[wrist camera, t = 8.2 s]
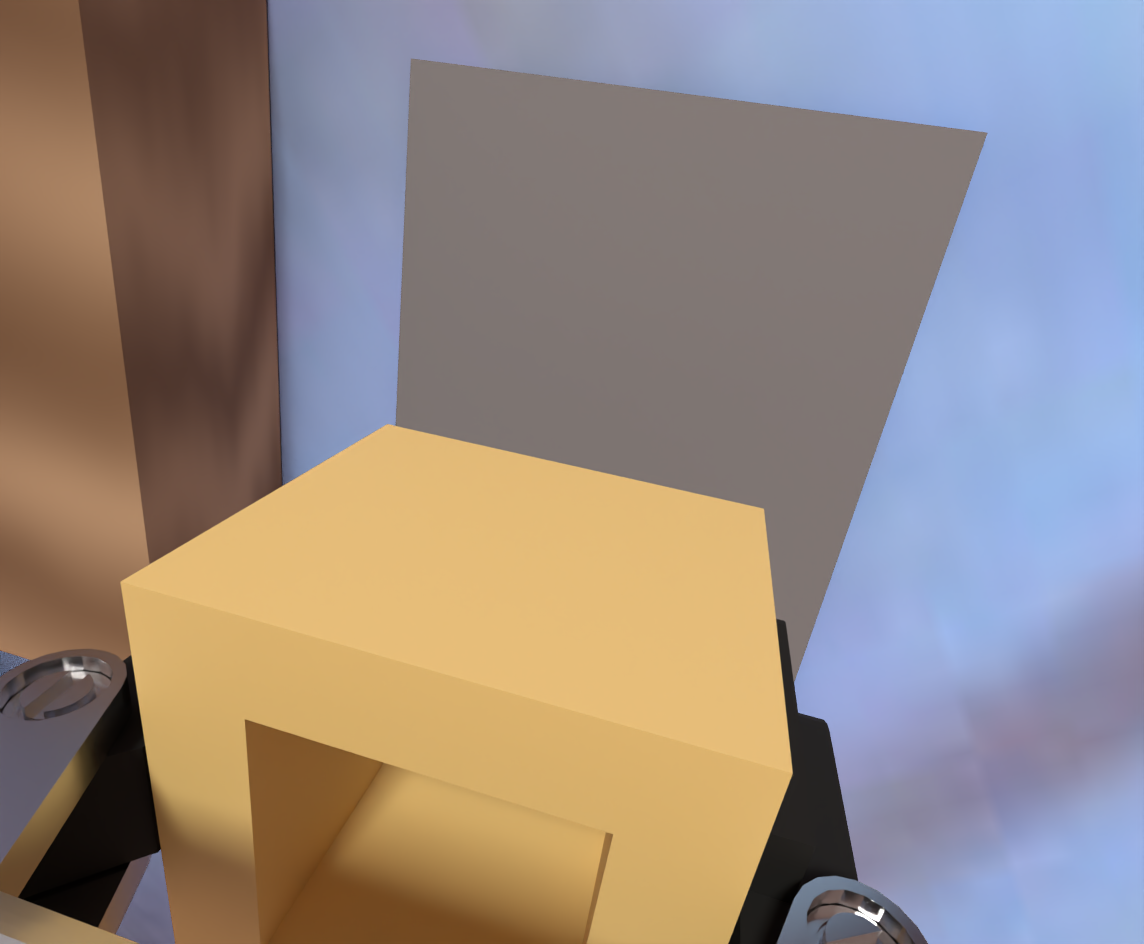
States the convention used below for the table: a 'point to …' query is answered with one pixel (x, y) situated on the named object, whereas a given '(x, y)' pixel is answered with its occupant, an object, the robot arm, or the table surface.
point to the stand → (129, 299)
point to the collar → (462, 706)
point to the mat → (672, 290)
